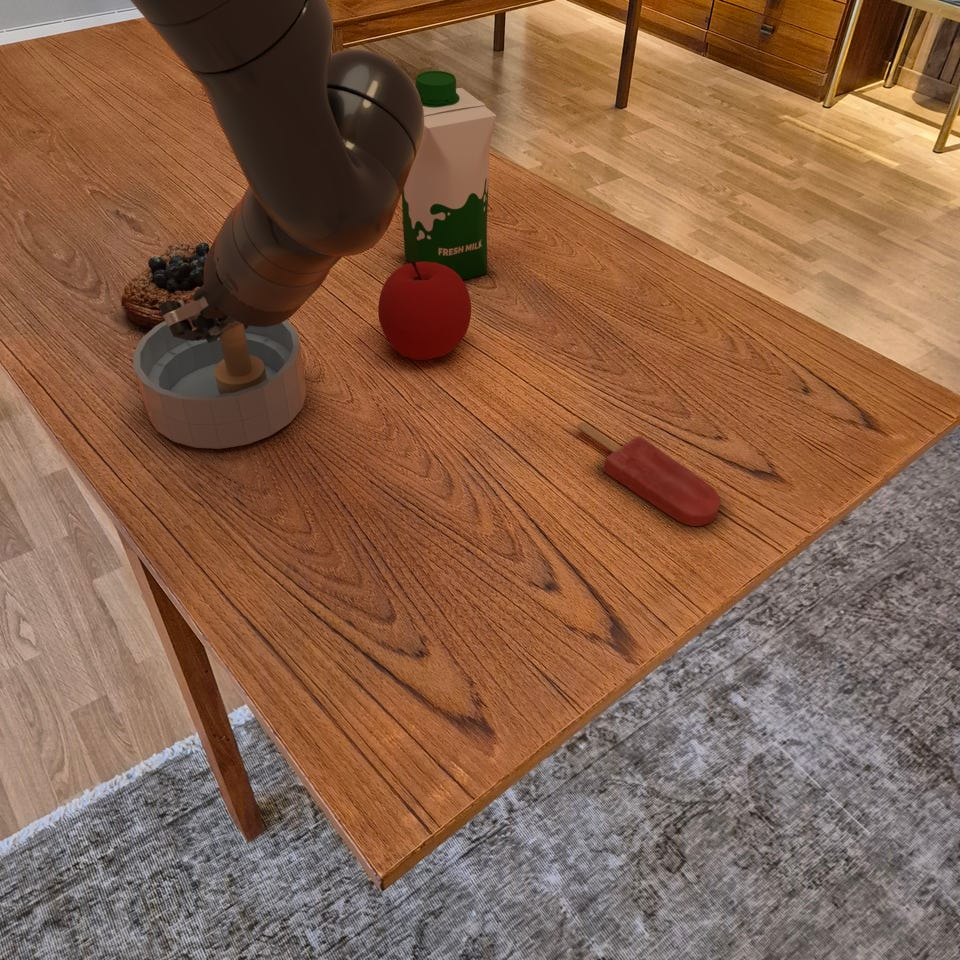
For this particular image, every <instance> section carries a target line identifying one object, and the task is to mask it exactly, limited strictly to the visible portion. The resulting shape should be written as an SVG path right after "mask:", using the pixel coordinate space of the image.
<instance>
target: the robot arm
mask: <svg viewBox="0 0 960 960" xmlns="http://www.w3.org/2000/svg"><path fill="white" fill-rule="evenodd" d="M130 2H131V3H132V5H134V7H135V9H137V10H138V12H140V14H141V15H142V16H143V18H145V20H146V21H147V22H148V23H149V25H150V26H151V27H152V28H153V29H154V31H155V32H156V33H157V34H158V35H159V36H160V38H161V39H162V40H163V41H164V42H165V44H166V45H167V46H168V47H169V48H170V49H171V51H172V52H173V53H174V54H175V56H176V57H177V58H178V59H179V60H180V62H181V63H182V64H183V65H184V66H185V67H186V68H187V69H188V70H189V72H190V73H191V74H192V75H193V76H194V78H195V79H196V80H197V81H198V82H199V84H200V85H201V86H202V89H203V90H204V92H205V95H206V96H207V99H208V101H209V104H210V106H211V109H212V111H213V113H214V115H215V117H216V120H217V122H218V124H219V126H220V128H221V130H222V132H223V135H224V137H225V138H226V140H227V142H228V144H229V147H230V148H231V151H232V152H233V155H234V157H235V158H236V161H237V163H238V166H239V167H240V169H241V172H242V174H243V176H244V178H245V179H246V182H247V184H248V185H247V188H246V190H245V191H244V193H243V195H242V197H241V199H240V200H239V202H237V203H236V205H235V206H233V208H232V209H231V210H230V212H229V213H228V214H227V216H226V218H225V220H224V221H223V224H222V225H221V227H220V229H219V231H218V233H217V235H216V236H215V238H214V240H213V242H212V244H211V246H210V247H209V251H208V253H207V256H206V259H205V264H204V285H203V286H202V287H200V288H199V289H197V290H196V291H195V293H194V295H193V300H194V301H193V302H191V303H188V304H186V305H185V303H184V301H183V300H180V301H178V302H176V301H166V302H163V303H162V305H160V306H159V309H160V311H161V313H162V315H163V317H164V319H165V321H166V323H167V325H168V327H169V329H170V331H171V333H172V335H173V337H176V338H181V339H185V340H189V341H195V340H196V341H199V340H204V339H206V340H207V342H208V343H211V342H213V341H216V340H217V339H218V338H219V336H220V335H221V334H222V333H223V332H224V331H226V330H229V329H232V328H235V327H236V326H237V325H238V324H239V323H242V324H244V329H247V327H248V326H254V327H268V326H273V325H277V324H279V323H282V322H284V321H285V320H287V321H288V320H289V319H290V318H292V316H293V315H295V313H297V312H298V310H299V309H300V308H301V307H302V306H303V305H304V304H305V303H306V302H307V301H308V300H309V299H310V298H311V297H312V295H313V294H314V293H315V292H316V291H317V290H318V289H319V288H320V287H321V286H322V285H323V283H324V282H325V280H326V279H327V276H328V275H329V273H330V271H331V269H333V267H334V266H335V265H336V264H338V262H339V261H340V260H341V259H342V258H343V257H351V256H357V255H360V254H362V253H364V252H366V251H369V250H370V249H372V248H373V247H374V246H375V245H377V244H378V243H379V242H380V241H381V239H382V238H383V237H384V235H385V234H386V232H387V230H388V229H389V226H390V225H391V223H392V220H393V218H394V215H395V213H396V210H397V207H398V204H399V202H400V200H401V198H402V191H403V189H404V186H405V183H406V181H407V178H408V175H409V173H410V170H411V167H412V165H413V162H414V160H415V157H416V155H417V152H418V149H419V147H420V144H421V140H422V136H423V131H424V110H423V106H422V102H421V98H420V95H419V93H418V91H417V89H416V84H415V83H414V81H413V80H412V79H411V77H410V76H409V75H408V73H406V72H405V70H403V68H401V67H400V66H399V65H398V64H397V63H396V62H394V61H393V60H392V59H390V58H388V57H386V56H384V55H382V54H380V53H377V52H374V51H370V50H365V49H344V50H340V51H336V52H332V51H333V50H332V49H333V41H334V39H333V38H334V20H333V16H332V15H333V14H332V12H331V9H330V6H329V3H328V0H130Z"/></svg>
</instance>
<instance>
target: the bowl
mask: <svg viewBox="0 0 960 960" xmlns="http://www.w3.org/2000/svg"><path fill="white" fill-rule="evenodd" d="M245 334H246V339H247V344H248V349H249V354H250V355H252V356H255V357H258V358H259V359H261V360H262V361H263V363H264V365H265V371H266V376H267V379H266V380H265V381H263V382H261V383H260V384H258V385H255V386H252V387H249V388H246V389H243V390H240V391H238V392H234V393H227V394H221V395H220V394H219V392H218V389H217V384H216V380H215V376H214V369H215V367H216V365H217V364H218V363H219V362H220V361H222V360H223V359H224V357H223V352H222V347H221V343H220V338H218V339H217V340H216V341H213V342H211V343H208V342H207V340H206V339H204V340H199V341H196V340H195V341H189V340H185V339H181V338H176V337H173V335H172V333H171V331H170V329H169V327H168V325H167V323H166V321H164V322H162V323H160V324H158V325H157V326H155V327H154V328H153V329H152V330H151V331H149V332H148V333H147V332H146V334H145V335H144V336H142V337H141V339H140V340H139V342H138V344H137V346H136V348H135V350H134V351H133V354H132V355H133V356H132V357H133V358H132V363H133V364H132V368H133V372H134V375H135V379H136V382H137V385H138V388H139V391H140V395H141V398H142V402H143V405H144V408H145V411H146V415H147V418H148V419H149V421H150V422H151V424H152V426H153V427H154V429H155V431H157V432H158V433H160V434H161V435H163V436H164V437H165V438H167V439H169V440H170V441H171V442H174V443H177V444H180V445H184V446H188V447H191V448H196V449H215V450H216V449H217V450H220V449H229V448H234V447H241V446H246V445H250V444H252V443H255V442H258V441H260V440H263V439H266V438H268V437H271V436H273V435H274V434H276V433H277V432H279V431H281V430H282V429H283V428H285V427H286V426H288V425H289V424H290V423H292V422H293V420H294V419H295V418H296V417H297V416H298V414H299V413H300V412H301V411H302V409H303V407H304V404H305V400H306V397H307V385H306V378H305V371H304V370H305V369H304V363H303V356H302V348H301V343H300V339H299V335H298V331H297V330H296V328H294V326H292V324H291V323H290V322H289V321H288V319H287V320H285V321H284V322H282V323H279V324H277V325H273V326H268V327H254V326H248V327H247V329H245Z"/></svg>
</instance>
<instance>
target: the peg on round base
mask: <svg viewBox="0 0 960 960" xmlns="http://www.w3.org/2000/svg"><path fill="white" fill-rule="evenodd" d="M219 338H220V343H221V347H222V352H223V357H224V359H223V360H222V361H220V362H219V363H218V364H217V365H216V367H215V369H214V376H215V380H216V384H217V389H218V392H219V394H220V395H221V394H227V393H234V392H238V391H240V390H243V389H246V388H249V387H252V386H255V385H258V384H260V383H261V382H263V381H265V380H266V379H267V376H266V371H265V365H264V363H263V361H262V360H261V359H259V358H258V357H255V356H252V355H250V354H249V349H248V344H247V339H246V334H245V329H244V324H242V323H239V324H238V325H237V326H236V327H235V328H232V329H229V330H226V331H224V332H223V333H222V334H221V335H220V336H219Z"/></svg>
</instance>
